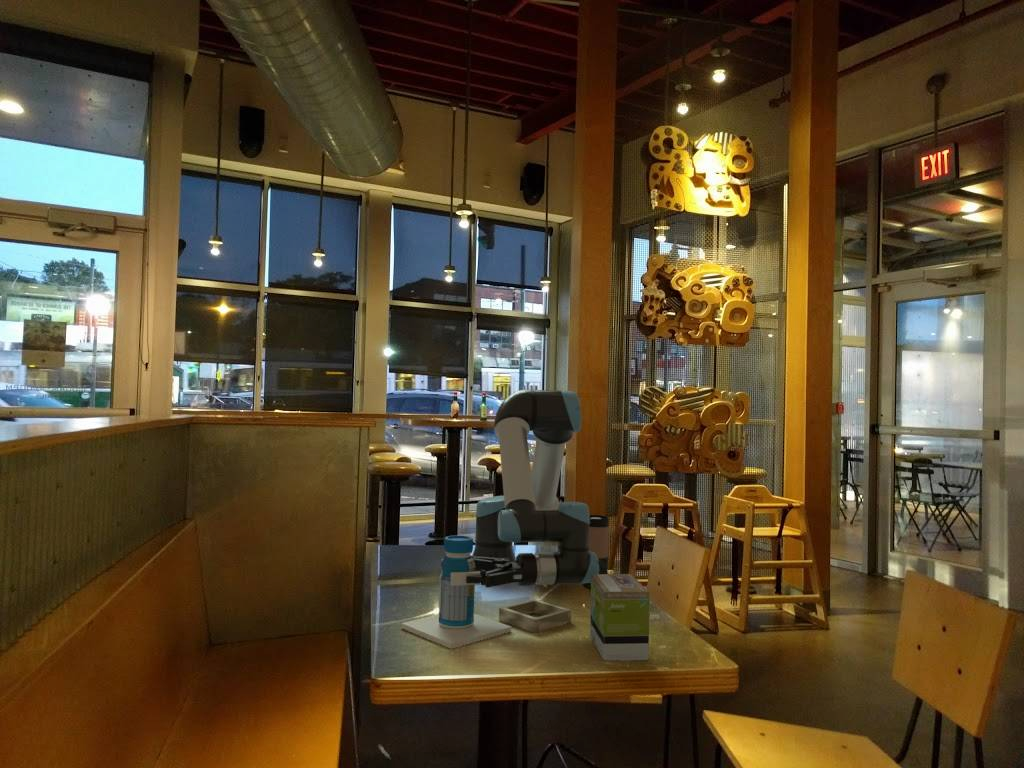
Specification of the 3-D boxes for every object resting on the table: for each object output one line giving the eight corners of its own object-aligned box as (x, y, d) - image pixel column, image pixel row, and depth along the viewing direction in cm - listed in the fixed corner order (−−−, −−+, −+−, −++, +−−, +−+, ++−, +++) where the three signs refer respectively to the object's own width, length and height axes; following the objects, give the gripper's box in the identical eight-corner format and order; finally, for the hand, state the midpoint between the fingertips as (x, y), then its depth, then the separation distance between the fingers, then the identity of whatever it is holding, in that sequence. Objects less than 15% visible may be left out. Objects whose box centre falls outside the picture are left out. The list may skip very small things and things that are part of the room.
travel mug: (607, 582, 213) (608, 515, 213) (608, 589, 205) (609, 519, 206) (581, 581, 213) (583, 514, 214) (581, 587, 206) (583, 518, 206)
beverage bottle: (446, 631, 159) (449, 542, 160) (432, 621, 167) (435, 535, 167) (480, 627, 163) (482, 539, 164) (465, 617, 171) (467, 533, 171)
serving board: (401, 628, 165) (401, 623, 165) (460, 613, 177) (460, 609, 177) (451, 649, 152) (451, 643, 152) (511, 631, 164) (511, 626, 164)
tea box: (588, 637, 162) (590, 572, 162) (631, 637, 163) (633, 572, 163) (602, 661, 147) (604, 589, 147) (649, 661, 148) (651, 590, 148)
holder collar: (498, 620, 173) (499, 607, 173) (534, 610, 182) (534, 599, 182) (535, 633, 164) (536, 619, 164) (570, 622, 173) (571, 610, 173)
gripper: (549, 599, 157) (454, 603, 152) (520, 572, 181) (437, 575, 176) (550, 565, 157) (455, 567, 152) (521, 542, 182) (438, 544, 176)
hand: (445, 571), depth 164 cm, fingers open, 13 cm apart
